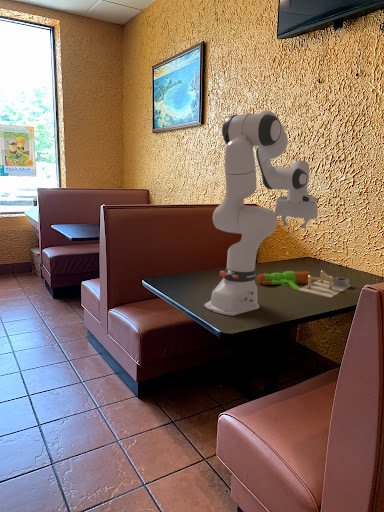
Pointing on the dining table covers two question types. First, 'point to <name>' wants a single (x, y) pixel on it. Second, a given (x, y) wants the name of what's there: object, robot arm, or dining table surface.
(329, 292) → the board
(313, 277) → the rope post barrier
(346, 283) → the grey square box
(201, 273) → the dining table surface
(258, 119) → the robot arm
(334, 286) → the pad
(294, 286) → the toy
